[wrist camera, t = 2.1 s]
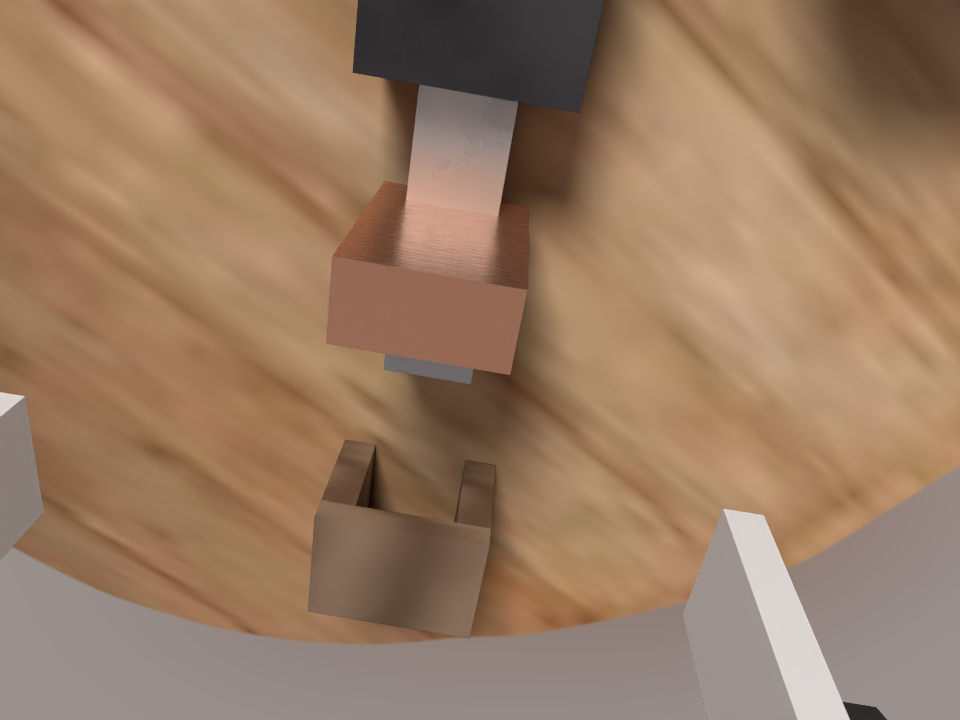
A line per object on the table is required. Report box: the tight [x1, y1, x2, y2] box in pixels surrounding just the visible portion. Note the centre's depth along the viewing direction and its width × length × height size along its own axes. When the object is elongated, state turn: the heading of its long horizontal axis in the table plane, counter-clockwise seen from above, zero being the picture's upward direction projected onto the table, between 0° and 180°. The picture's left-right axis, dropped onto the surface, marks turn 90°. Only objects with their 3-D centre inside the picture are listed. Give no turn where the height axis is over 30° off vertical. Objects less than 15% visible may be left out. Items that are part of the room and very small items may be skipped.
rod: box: [326, 85, 529, 384], centre depth 24 cm, size 6×28×11 cm, turn 171°
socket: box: [308, 440, 496, 638], centre depth 38 cm, size 8×6×6 cm
